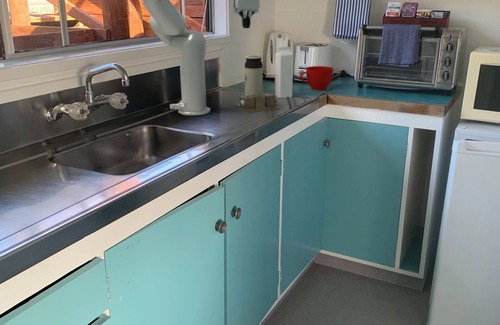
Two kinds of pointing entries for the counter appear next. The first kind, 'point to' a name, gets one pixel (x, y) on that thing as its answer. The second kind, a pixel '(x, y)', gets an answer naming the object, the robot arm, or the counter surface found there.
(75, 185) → the counter surface
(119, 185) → the counter surface
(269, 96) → the hinge
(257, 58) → the travel mug
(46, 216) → the counter surface
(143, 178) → the counter surface
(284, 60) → the milk
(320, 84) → the ceramic cup
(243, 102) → the pin
